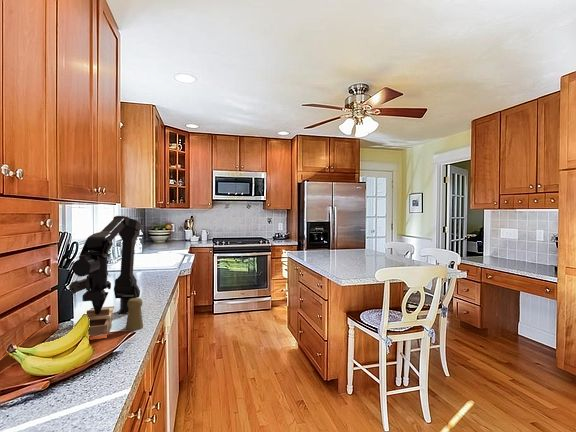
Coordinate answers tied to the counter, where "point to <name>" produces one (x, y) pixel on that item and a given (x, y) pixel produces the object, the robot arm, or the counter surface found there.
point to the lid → (103, 314)
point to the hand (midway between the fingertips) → (97, 314)
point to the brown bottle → (134, 315)
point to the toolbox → (100, 326)
